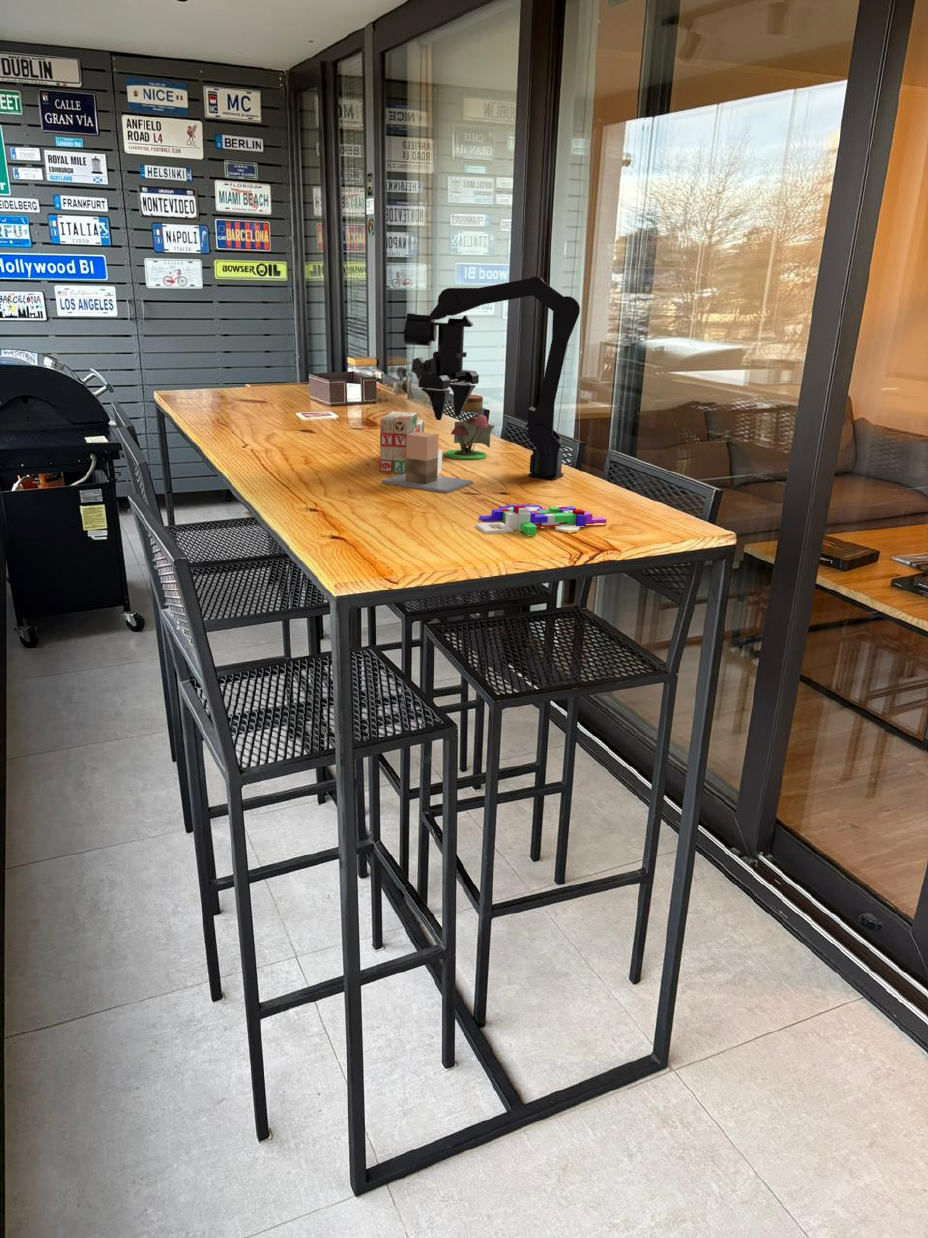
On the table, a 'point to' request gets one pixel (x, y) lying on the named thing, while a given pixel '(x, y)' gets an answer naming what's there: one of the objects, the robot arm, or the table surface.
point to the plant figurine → (471, 431)
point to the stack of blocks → (396, 439)
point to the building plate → (439, 486)
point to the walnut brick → (421, 470)
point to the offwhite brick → (439, 461)
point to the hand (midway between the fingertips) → (448, 417)
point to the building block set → (536, 519)
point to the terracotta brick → (422, 446)
